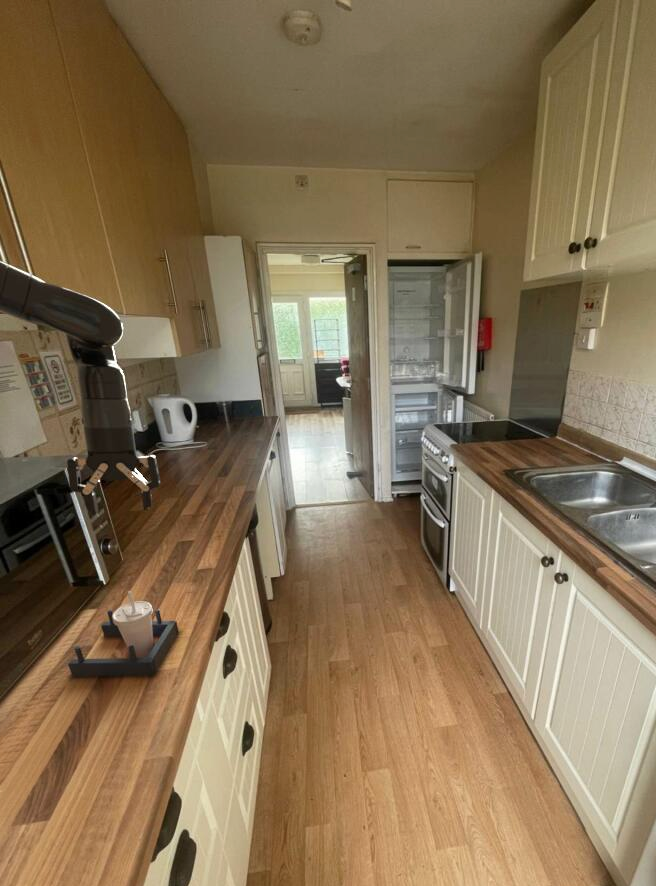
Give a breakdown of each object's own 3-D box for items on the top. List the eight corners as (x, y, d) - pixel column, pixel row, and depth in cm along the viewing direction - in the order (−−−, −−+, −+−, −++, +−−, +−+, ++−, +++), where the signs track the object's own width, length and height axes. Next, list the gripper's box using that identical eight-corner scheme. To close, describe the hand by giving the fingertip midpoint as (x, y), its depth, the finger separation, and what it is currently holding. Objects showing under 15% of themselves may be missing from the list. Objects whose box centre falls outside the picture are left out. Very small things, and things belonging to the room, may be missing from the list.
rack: (72, 676, 75) (62, 650, 73) (107, 633, 86) (100, 609, 84) (153, 675, 76) (147, 648, 74) (178, 632, 87) (173, 608, 84)
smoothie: (142, 668, 78) (125, 605, 72) (115, 660, 79) (97, 597, 74) (169, 646, 83) (155, 585, 78) (143, 638, 85) (128, 578, 79)
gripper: (154, 422, 83) (164, 503, 87) (67, 423, 78) (82, 509, 82) (150, 425, 76) (161, 513, 80) (53, 426, 71) (70, 519, 75)
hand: (121, 511), depth 81 cm, fingers open, 8 cm apart
